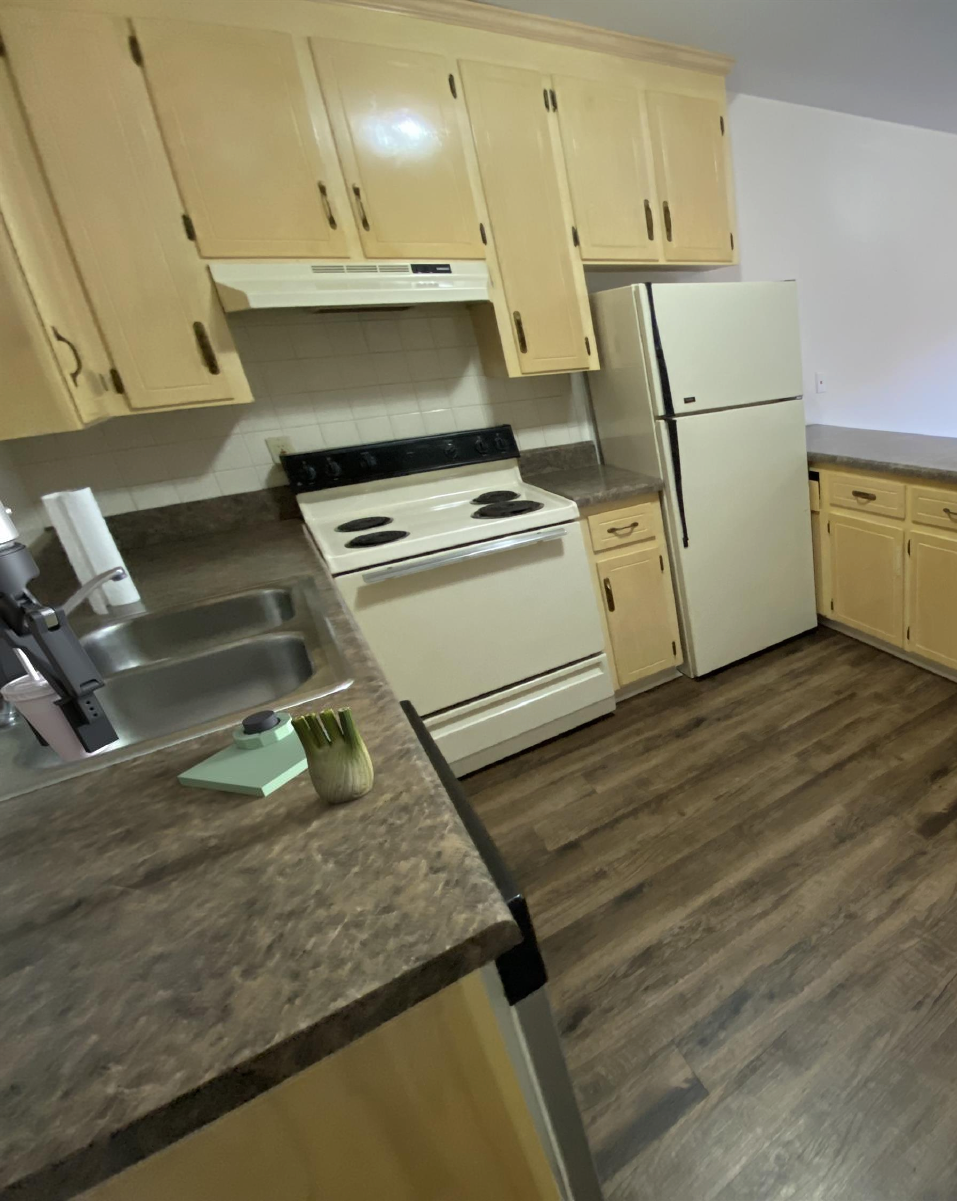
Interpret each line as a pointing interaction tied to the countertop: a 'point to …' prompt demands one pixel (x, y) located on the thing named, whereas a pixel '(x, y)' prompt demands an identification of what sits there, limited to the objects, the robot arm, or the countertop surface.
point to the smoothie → (44, 711)
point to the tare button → (260, 722)
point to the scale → (252, 761)
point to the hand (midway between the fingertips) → (80, 742)
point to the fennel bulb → (335, 755)
